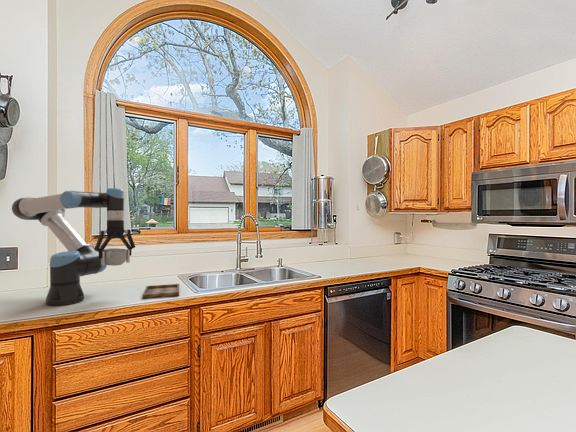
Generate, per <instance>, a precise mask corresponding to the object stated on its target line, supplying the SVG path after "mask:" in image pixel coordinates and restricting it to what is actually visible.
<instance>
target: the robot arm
mask: <svg viewBox="0 0 576 432" xmlns="http://www.w3.org/2000/svg"><path fill="white" fill-rule="evenodd" d="M124 205H125V193H124V189H122V188H118V187H117V188H114V187H113V188H111V187H110V188H107V189H106V192H95V191H94V192H92V191H77V190H67V191H66V190H65V191H63V192H62V193H58V194H51V195H47V196H46V195H45V196H40V197H28V196H27V197H21V198H18V199H16V200H15V201H13V203H12V205H11V212H12V213H13V215H14V216H15V217H16V218H18V219H20V220H25V221H39V223H40V224H41V225H42V226H43V227H48V229H49V230H50V231H51V232H52V233H53V235H54V236H55V237H56V238H57V239H58V240H59V242H60V243H61V244H62V246H63V247H65V249H66V250H67V251H62V252H57V253H54V254H53V255H51V256H50V258H49V259H50V261H49V282H50V284H49V289H48V292H47V295H46V298H45V305H46V306H51V307H56V306H59V307H60V306H68V305H73V304H78V303H80V302H83V301H85V293H84V291H83V288H82V285H81V282H80V281H81V277H84V276H85V277H86V276H91V275H97V274H98V273H101V272H102V273H103V271H104V270H105V269H106V268H107V267H108V265H106V264H105V252H103V250H104V249H106V247H107V245H109V243H110V241H111V240H112V239H120V240H121V241H122V243H123V245H124V246H125V247H126V248H127V255H126V261H125V263H127V264H128V263H130V262H131V261H130V256H132V251H133V249H135V248H136V244H135V241H134V240H133V237H132V235H131V234H132V232H131V231H132V230H131V229H128V228H127V229H125V221H124V219H125V210H124V209H125V206H124ZM76 208H91V209H92V208H93V209H102V208H106V219H107V220H106V229H105V230H99V236H98V238H97V241H96V244H95V246H94V245H92V244H89V243H87V242H86V241H85V240H84V238H82V236H81V235H80V234H79V233H78V232H77V230H75V228H74V227H73V226H72V225H71V223H70V222H69V221H68V220H67V218H65V213H66V210H69V209H76ZM106 234H107V236H106V238H105V240H104V241H103V239H104V237H105V235H106ZM124 234H126V237H127V239H126V238H125V236H124ZM127 240H128V241H127Z"/></svg>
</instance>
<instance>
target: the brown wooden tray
mask: <svg viewBox="0 0 576 432" xmlns="http://www.w3.org/2000/svg"><path fill="white" fill-rule="evenodd" d="M170 297H171V298H172V297H180V283H171V284H156V285H154V284H153V285H145V289H144V291H143V293H142V300H146V299H157V298H159V299H160V298H170Z"/></svg>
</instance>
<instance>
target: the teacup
mask: <svg viewBox="0 0 576 432" xmlns="http://www.w3.org/2000/svg"><path fill="white" fill-rule="evenodd" d="M103 252H105V264H106V265H107V266H112V267H113V266H122V265H123V264H124V263H126V255H127V249H126V248H105V249H104V250H103Z"/></svg>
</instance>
